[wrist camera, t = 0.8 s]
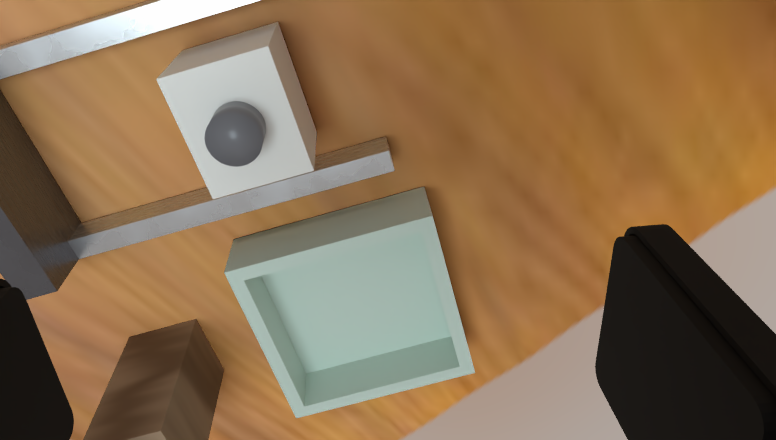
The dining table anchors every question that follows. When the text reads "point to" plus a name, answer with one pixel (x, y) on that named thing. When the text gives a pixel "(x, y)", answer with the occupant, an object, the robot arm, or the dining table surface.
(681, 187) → the dining table surface
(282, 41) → the block
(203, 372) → the stop block
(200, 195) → the piston rail
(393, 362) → the tray
